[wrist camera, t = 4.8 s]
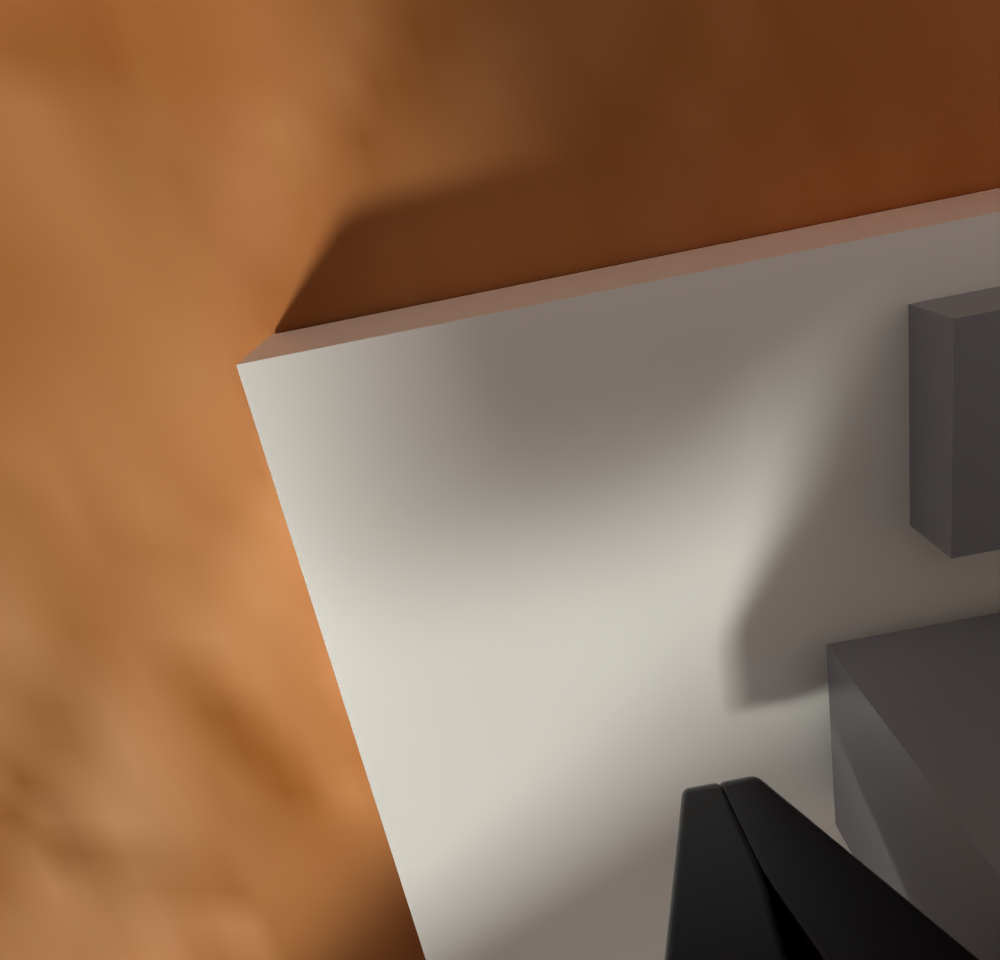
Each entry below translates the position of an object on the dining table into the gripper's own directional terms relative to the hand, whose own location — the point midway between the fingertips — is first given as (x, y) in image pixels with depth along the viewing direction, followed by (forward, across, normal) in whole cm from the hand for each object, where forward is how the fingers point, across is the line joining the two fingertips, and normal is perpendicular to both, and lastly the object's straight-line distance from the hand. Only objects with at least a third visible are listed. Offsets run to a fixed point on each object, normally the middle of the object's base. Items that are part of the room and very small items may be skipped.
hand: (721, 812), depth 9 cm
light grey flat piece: (+3, -1, 0) cm, 3 cm away
